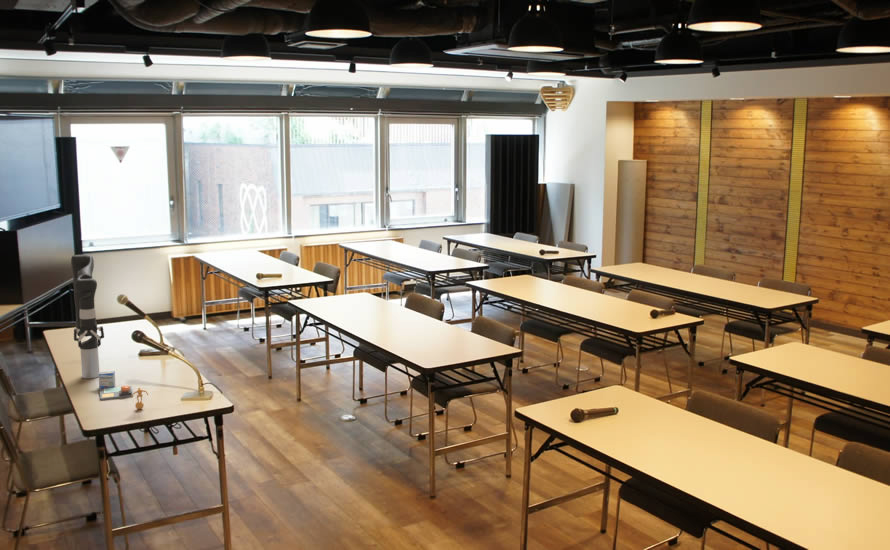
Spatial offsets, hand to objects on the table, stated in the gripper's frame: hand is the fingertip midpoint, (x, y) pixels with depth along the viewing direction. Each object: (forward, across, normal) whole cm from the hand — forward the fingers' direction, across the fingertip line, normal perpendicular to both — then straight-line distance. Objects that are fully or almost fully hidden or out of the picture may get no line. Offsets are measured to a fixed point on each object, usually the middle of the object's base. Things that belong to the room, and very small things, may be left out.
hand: (89, 347), depth 405 cm
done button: (+26, -16, 0) cm, 30 cm away
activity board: (+28, -12, -5) cm, 31 cm away
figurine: (+28, -20, +27) cm, 44 cm away
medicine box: (+29, -8, -18) cm, 35 cm away
